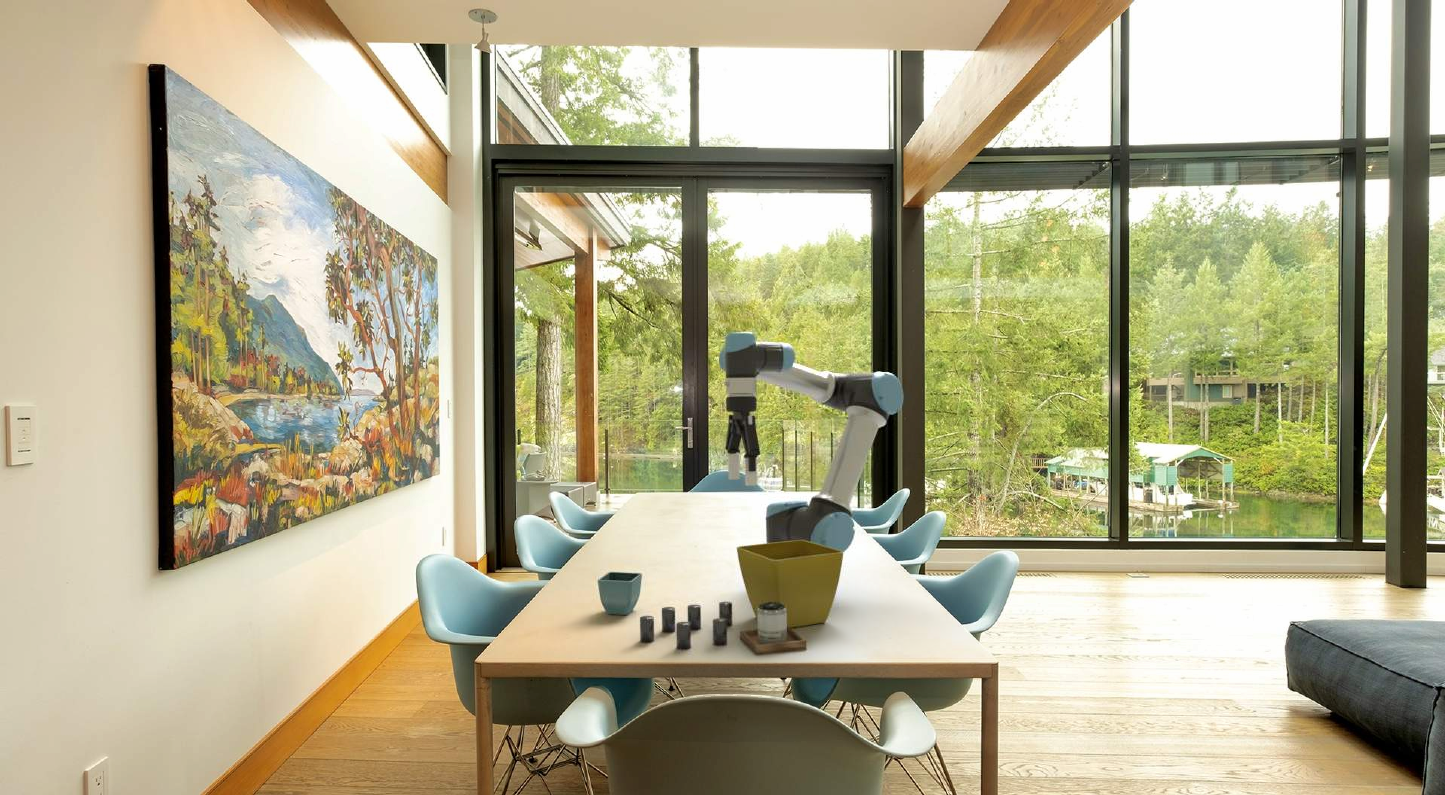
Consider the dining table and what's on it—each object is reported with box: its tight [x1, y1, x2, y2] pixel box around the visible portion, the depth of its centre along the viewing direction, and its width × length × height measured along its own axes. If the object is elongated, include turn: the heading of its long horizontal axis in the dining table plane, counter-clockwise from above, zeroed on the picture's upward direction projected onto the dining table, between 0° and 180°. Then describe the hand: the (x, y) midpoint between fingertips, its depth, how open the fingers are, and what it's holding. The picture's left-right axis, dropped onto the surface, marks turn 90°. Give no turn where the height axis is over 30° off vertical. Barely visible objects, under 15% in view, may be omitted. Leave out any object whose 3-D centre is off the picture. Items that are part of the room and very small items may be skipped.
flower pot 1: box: [597, 571, 643, 616], centre depth 194 cm, size 9×9×9 cm
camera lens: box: [756, 602, 787, 644], centre depth 168 cm, size 6×6×8 cm
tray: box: [739, 626, 807, 656], centre depth 168 cm, size 11×11×2 cm
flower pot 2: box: [736, 540, 844, 629], centre depth 186 cm, size 19×19×17 cm
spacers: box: [639, 601, 733, 651], centre depth 174 cm, size 22×16×5 cm
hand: (742, 482), depth 193 cm, fingers open, 13 cm apart
